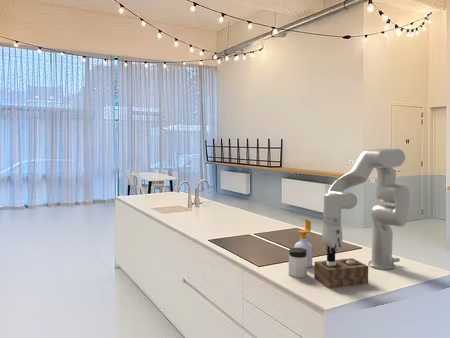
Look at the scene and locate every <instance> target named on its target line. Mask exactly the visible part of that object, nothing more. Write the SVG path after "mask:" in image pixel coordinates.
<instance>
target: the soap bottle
mask: <svg viewBox="0 0 450 338" xmlns="http://www.w3.org/2000/svg"><path fill="white" fill-rule="evenodd" d="M299 219H300V220H303V221H304V222H305V229H303V230H302V229H301V230H298V231H297V232H299V233H300V234H301V236H300V237H299V238H300V239H299V241H297V242H296V243H295V244H294V247H293V248H303V249H306V250H307V269H308V268H311V267H312V266H313V245H312V244H311V243H310V242H309V241H307V240H308V237H307V236H306V235H307V233H310V232H311V227H312V226H311V221H310V220H309V219H306V218H302V217H299Z"/></svg>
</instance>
